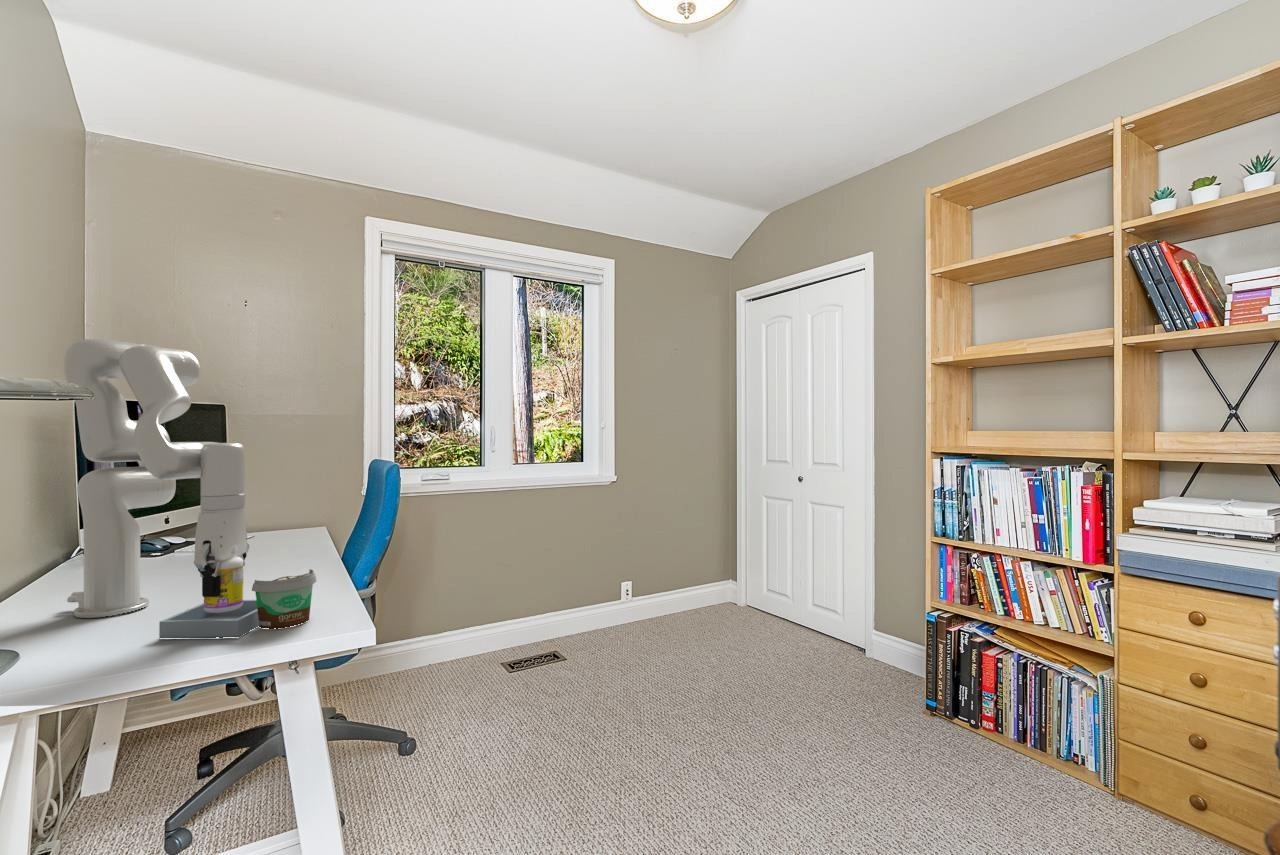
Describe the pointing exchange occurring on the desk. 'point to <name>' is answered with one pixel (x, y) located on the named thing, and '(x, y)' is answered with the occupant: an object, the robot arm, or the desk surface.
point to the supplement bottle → (228, 586)
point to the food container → (284, 600)
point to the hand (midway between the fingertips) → (223, 590)
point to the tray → (211, 622)
